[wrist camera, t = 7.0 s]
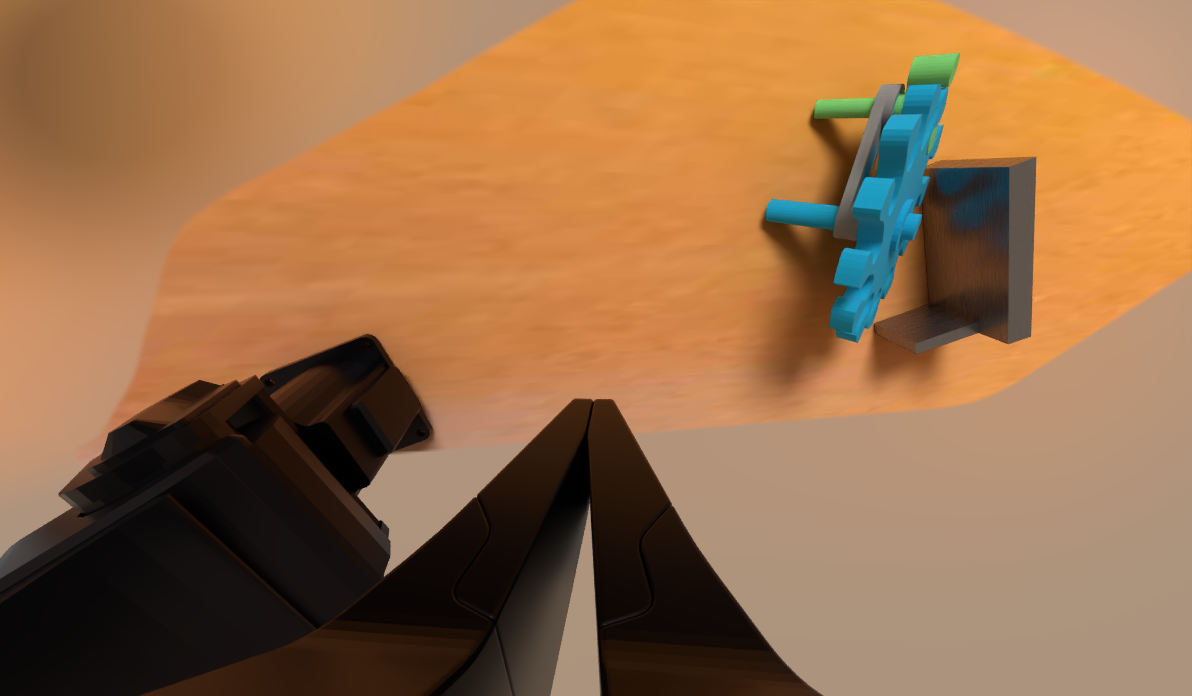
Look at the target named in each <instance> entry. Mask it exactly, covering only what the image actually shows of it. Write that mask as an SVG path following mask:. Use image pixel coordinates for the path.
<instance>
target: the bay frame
mask: <svg viewBox="0 0 1192 696" xmlns="http://www.w3.org/2000/svg"><path fill="white" fill-rule="evenodd" d="M923 176H927V177H930V180H929V183H928V186H927V189H926V192H925V195H924V197H923V200H922V209H923V223H924V238H925V252H926V267H927V281H928V295H929V304H928V305H925V306H922V307H920V308H917V309H914V310H911V311H908V312H906V313H903V314H900V315H897V316H894V317H891V318H889V319H886V320H883V321H880V322H877V323H874V326H875V333H876V334H878V335H880V336H882V337H884V338H886V339H888V340H889V341H891V342H893V343H895V344H897V345H899V346H901V347H903V348H905V349H907V350H909V351H911V352H913V353H915V354H919V353H922V352H925V351H927V350H930V349H933V348H936V347H939V346H942V345H945V344H948V343H951V342H954V341H956V340H959V339H962V338H965V337H968V336H971V335H974V334H977V333H980V334H983V335H986V336H988V337H991V338H993V339H996V340H999V341H1001V342H1004V343H1006V344H1011V343H1013V342H1016V341H1019V340H1022V339H1025V338H1028V337H1031V320H1032V286H1033V252H1034V218H1035V184H1036V157H1017V158H992V159H966V160H941V161H938V162H935V163H933V164H930V165H928V166H926V168H925V171H924V174H923Z"/></svg>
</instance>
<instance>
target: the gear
mask: <svg viewBox="0 0 1192 696" xmlns="http://www.w3.org/2000/svg"><path fill="white" fill-rule="evenodd" d="M959 56H960V53H954V54H941V55H929V56H917V57H915V59H914V61H913V63H912V66H911V69H910V72H909V76H908V81H907V90H906V93H904V91H905V85H904V84H891V85H882V86H881V87H880V89H879V91H878V93H877V96H876V98H857V99H829V100H818V101H817V103H816V106H815V110H814V118H815V119H825V118H869V119H868V122H867V125H866V128H865V131H864V134H863V137H862V140H861V143H860V147H859V150H858V153H857V156H856V159H855V162H854V165H853V168H852V171H851V174H850V177H849V180H848V183H847V186H846V189H845V192H844V195H843V198H842V201H841V204H840V206H835V205H825V204H815V203H805V202H795V201H785V200H776V199H772V200H771V201H770V202H769V204H768V206H767V210H766V221H769V222H776V223H784V224H791V225H799V226H807V227H814V228H822V229H829V230H833V236H834V238H840V239H847V240H854V241H857V243H856V247H855V249H851V248H845V249H844V250H843V252H842V254H841V257H840V260H839V263H838V267H837V270H836V274H835V278H834V282H833V283H834V284H836V285H841V286H846V287H847V289H846V291H845V293H844V295H843V296H838V298H837V299H836V301H835V303H834V305H833V307H832V311H831V316H830V325H829V328H833V329H836V336H837V337H838V338H842V339H846V340H849V341H853V342H857V343H858V342H859V339H860V337H861V335H862V332H863V330H864V328H867V329H869V328H870V326H871V325H872V324H873V321H874V318H875V315H876V312H877V308H878V305H879V301H880V299H884V298H885V297H886V295H887V293H888V291H889V289H890V287H891V284H892V281H893V278H894V270H895V265H896V261H897V258H898V255H901V256H903V254H904V251H905V249H906V247H907V244H908V242H909V240H912V241H913V240H914V238H915V236H916V233H917V231H918V228H919V225H920V222H921V219H922V214H914V213H913V211H914V207H915V206H920V205H921V203H922V200H923V197H924V195H925V192H926V189H927V186H928V183H929V180H930V177H927V176H923V174H924V171H925V168H926V165H927V162H928V160H929V159H933V157H934V155H935V153H936V151H937V148H938V144H939V141H940V137H941V134H942V130H943V126H944V125H938V123H939V121H940V119H941V117H942V114H943V111H944V109H945V105H946V100H947V94H948V87H949V86H950V84H951V82H952V80H953V77H954V75H955V72H956V68H957V65H958V61H959ZM941 87H943V88H941ZM878 151H879V158H878V167H877V173H876V178H872V177H870V175H871V172H872V169H873V166H874V163H875V160H876V157H877V154H878Z"/></svg>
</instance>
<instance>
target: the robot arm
mask: <svg viewBox="0 0 1192 696" xmlns="http://www.w3.org/2000/svg"><path fill="white" fill-rule="evenodd" d="M365 341H366V342H368V343H369V344H370V345H371V348H368V347H366V346H365V345H364V342H365ZM270 379H272V380H273V381H274V382H275V384H273V383H272V382H270ZM420 407H421V404H420V403H419V401H418V399H417V398H416V396H415V394H414V393H413V391H412V390H411V388H410V386H409V385H408V383H407V381H406V380H405V378H404V377H403V375H402V373H401V372H400V370H399V369H398V368H397V367H395V366H394V365H393V363H392V362H391V360H390V359H389V357H388V355H387V354H386V352H385V350H384V349H383V347H382V346H381V344H380V342H379V341H378V339H377V338H376V337H375V336H373V335H370V334H365V335H362V336H359V337H357V338H354V339H352V340H349V341H346V342H344V343H341V344H339V345H336V346H334V347H331V348H329V349H326V350H323V351H321V352H318V353H316V354H313V355H311V356H308V357H305V358H303V359H300V360H298V361H295V362H293V363H290V364H288V365H285V366H282V367H280V368H277V369H275V370H272V371H270V372H268V373H266V374H265V375H263V376H262V377H261V378H260V379H259V378H258V377H257V376H256V375H254V376H252V377H250V378H248V379H246V380H244V381H242V382H240V383H239V382H238V381H237V380H234V381H232V382H230V383H228V384H225V385H224V384H223V385H217V384H213V383H209V382H205V381H202V380H198V381H196V382H194V383H192V384H190V385H188V386H186V387H184V388H183V389H181V390H179V391H177V392H175V393H174V394H172V395H170V396H168V397H166V398H164V399H163V400H161V401H159V402H157V403H155V404H154V405H152V406H150V407H148V408H147V409H145V410H143V411H142V412H140V413H138V414H137V415H135V416H134V417H132V418H131V419H129V420H128V421H126V422H125V423H123V424H122V425H120V426H119V427H117V428H116V429H114V430H113V431H111V432H110V433H108V437H107V440H106V443H105V447H104V450H103V453H102V454H101V455H100V456H98V457H96V458H95V459H93V460H92V461H90V462H89V463H88V464H87V465H86V466H85V467H84V468H83V469H82V470H81V471H80V472H79V473H78V474H77V475H76V476H75V477H74V478H73V479H72V480H71V481H70V483H68V484H67V486H65V487H64V488H63V489H62V490H61V491H60V492H59V494H58V495H59V496H60V497H61V498H62V499H64V500H65V501H66V502H67V503H69V504H70V505H71V506H72V507H73V508H71V509H70V510H68V511H66V512H65V513H63V514H62V515H60V516H58V517H57V518H55V519H53V520H52V521H50V522H48V523H47V524H45V525H43V526H42V527H40V528H39V529H37V530H36V531H34V532H32V533H30V534H29V535H27V536H26V537H24V538H22V539H21V540H19V541H18V542H16V543H15V544H14V545H12V546H11V547H10V548H9V549H8V550H7V551H6V552H5V553H4V554H3V556H2V557H1V558H0V696H550V694H551V689H552V684H553V679H554V675H555V670H556V665H557V660H558V655H559V650H560V645H561V641H562V636H563V631H564V626H565V621H566V616H567V612H568V607H569V602H570V597H571V593H572V587H573V583H574V578H575V573H576V568H577V563H578V559H579V554H580V549H581V544H582V539H583V535H584V530H585V525H586V520H587V515H588V510H589V504H590V511H591V530H592V549H593V567H594V587H595V605H596V625H597V643H598V662H599V681H600V696H823V695H822V694H820V693H819V692H817V691H816V690H814V689H813V688H812V687H810V686H809V685H808V684H807V683H806V682H804V681H803V680H802V679H801V678H800V677H799V676H797V675H796V673H795V672H793V671H792V669H791V668H790V667H789V666H787V664H786V663H785V662H784V661H783V660H782V659H781V658H780V657H779V656H778V654H777V653H776V652H775V651H774V649H773V648H772V647H771V646H770V644H769V643H768V642H767V640H766V639H765V638H764V636H763V635H762V634H761V632H760V631H759V630H758V628H757V627H756V626H755V624H754V623H753V622H752V620H751V619H750V618H749V616H748V615H747V614H746V612H745V611H744V610H743V608H742V607H741V606H740V604H739V603H738V602H737V600H736V599H735V598H734V596H733V595H732V594H731V592H730V591H729V590H728V588H727V587H726V586H725V584H724V583H723V582H722V580H721V579H720V578H719V576H718V575H717V574H716V572H715V571H714V569H713V568H712V567H711V565H710V564H709V562H708V561H707V559H706V558H705V557H704V555H703V554H702V552H701V551H700V550H699V548H698V547H697V545H696V544H695V542H694V541H693V539H692V537H691V535H690V534H689V532H688V531H687V529H686V527H685V526H684V524H683V522H682V521H681V519H680V517H679V515H678V513H677V512H676V510H675V508H674V507H673V506H672V503H671V501H670V500H669V498H668V496H667V494H666V493H665V491H664V489H663V487H662V485H661V484H660V482H659V480H658V478H657V476H656V475H655V473H654V471H653V470H652V467H651V466H650V464H649V462H648V460H647V459H646V457H645V455H644V453H643V451H642V450H641V448H640V446H639V445H638V443H637V441H636V439H635V437H634V435H633V434H632V432H631V430H630V428H629V426H628V425H627V423H626V421H625V419H624V418H623V416H622V414H621V412H620V410H619V409H618V407H617V405H616V403H615V402H614V400H612V399H596V400H594V402H593V400H592V399H573V400H572V401H571V402H570V403H569V404H568V405H567V406H566V407H565V408H564V409H563V410H562V411H561V412H560V413H559V414H558V415H557V416H556V417H555V418H554V419H553V420H552V421H551V422H550V423H549V424H548V425H547V426H546V427H545V428H544V429H543V430H542V431H541V432H540V433H539V434H538V435H537V436H536V437H535V438H534V439H533V440H532V441H531V442H530V443H529V444H528V445H527V446H526V447H525V448H524V449H523V450H522V451H521V452H520V453H519V454H518V455H517V456H516V457H515V458H514V459H513V460H512V461H511V462H510V463H509V464H508V465H507V466H506V467H505V468H504V469H503V470H502V471H501V472H500V473H499V474H498V475H497V476H496V477H495V478H494V479H493V480H492V481H491V482H490V483H489V484H487V485H486V486H485V488H484V489H482V491H480V493H478V495H477V497H475V498H473V499H472V500H471V501H470V502H469V503H468V504H467V505H466V506H465V507H464V508H463V509H462V510H461V511H460V512H459V513H458V514H457V515H456V516H455V517H454V518H453V519H452V520H451V521H449V522H448V523H447V524H446V525H445V526H444V527H443V528H442V529H441V530H440V531H439V532H438V533H437V534H435V535H434V536H433V537H432V538H431V539H429V540H428V541H427V542H426V543H425V544H423V545H422V546H421V547H420V548H419V549H418V550H416V551H415V552H414V553H413V554H412V555H411V556H409V557H408V558H407V559H406V560H405V561H403V562H402V563H401V564H400V565H398V566H397V567H396V568H395V569H393V570H392V571H391V572H390V573H389V574H387V575H386V576H385V577H384V572H385V569H386V567H387V564H388V561H389V559H390V540H389V539H388V535H389V528H388V527H387V526H386V525H385V524H384V522H383V521H381V520H380V521H378V520H377V518H376V517H375V516H374V515H373V514H372V513H371V512H370V510H369V509H368V508H367V507H366V506H365V505H364V503H363V502H362V501H361V500H360V499H359V498H358V497H357V495H358V494H359V492H360V491H361V489H362V488H365V487H367V486H369V485H370V483H371V482H372V480H373V479H374V477H375V476H376V474H377V472H378V471H379V469H380V468H381V466H382V465H383V463H384V461H385V460H386V458H387V457H388V455H389V454H390V453H392V452H393V451H395V450H398V449H401V448H404V447H406V446H409V445H412V444H415V443H417V442H420V441H423V440H426V439H427V438H428V437H429V436H430V434H431V432H432V427H431V425H430V423H429V421H428V420H427V418H426V417H425V415H424V413H423V412H422V410H421V409H420ZM419 429H423V430H424V431H425V432H420V431H419Z"/></svg>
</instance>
